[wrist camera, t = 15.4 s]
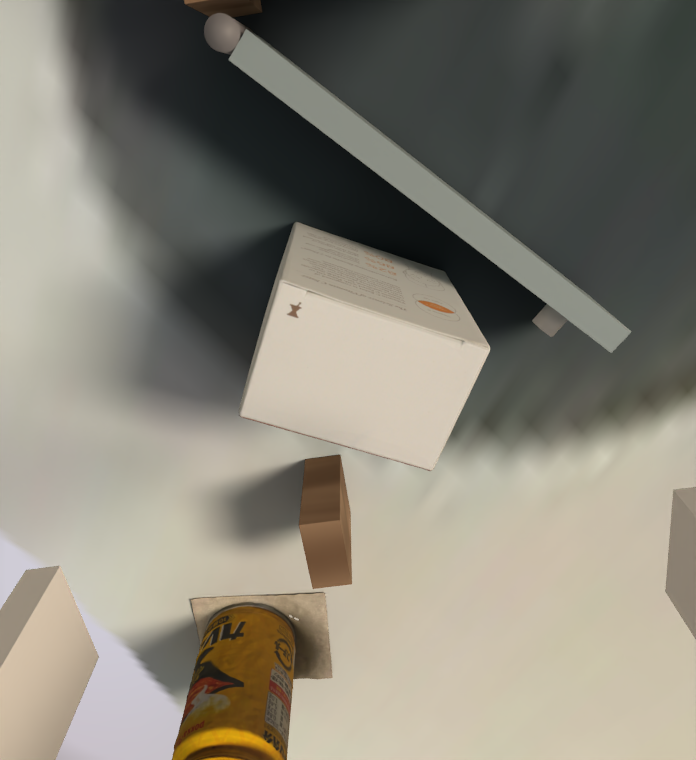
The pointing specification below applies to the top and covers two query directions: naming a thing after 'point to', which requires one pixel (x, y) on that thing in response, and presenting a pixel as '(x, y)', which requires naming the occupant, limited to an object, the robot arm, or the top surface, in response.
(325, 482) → the brown upright pieces
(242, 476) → the top surface
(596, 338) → the door
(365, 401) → the small box
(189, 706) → the condiment
